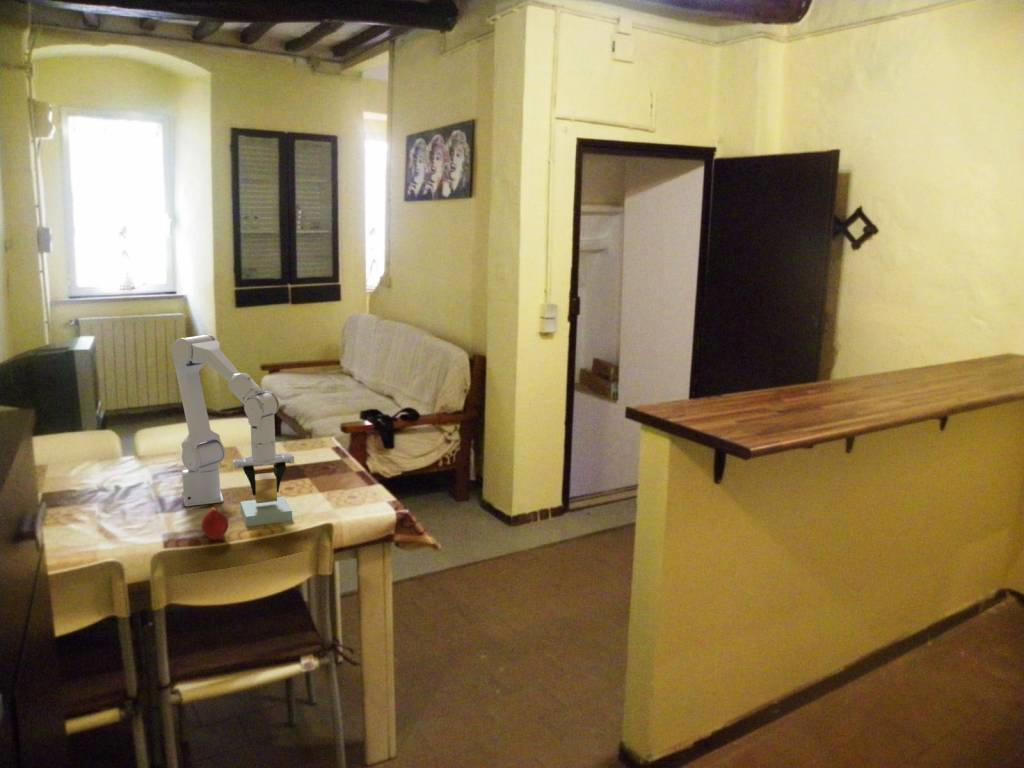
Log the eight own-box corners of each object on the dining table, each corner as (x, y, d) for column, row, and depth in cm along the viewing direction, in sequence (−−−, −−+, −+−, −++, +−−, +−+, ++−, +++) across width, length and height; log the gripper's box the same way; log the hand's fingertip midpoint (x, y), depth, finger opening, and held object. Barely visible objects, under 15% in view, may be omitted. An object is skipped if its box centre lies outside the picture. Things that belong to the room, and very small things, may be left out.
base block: (246, 528, 190) (246, 516, 189) (240, 512, 200) (240, 501, 199) (292, 521, 195) (291, 510, 194) (284, 506, 204) (284, 496, 204)
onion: (232, 534, 185) (230, 503, 183) (224, 544, 179) (222, 512, 177) (207, 534, 185) (205, 502, 183) (198, 544, 179) (196, 511, 177)
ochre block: (256, 503, 193) (255, 480, 192) (254, 497, 197) (253, 474, 196) (277, 500, 195) (276, 478, 194) (274, 494, 199) (273, 472, 198)
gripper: (234, 448, 186) (236, 501, 189) (295, 442, 192) (297, 494, 195) (231, 440, 192) (233, 492, 195) (290, 435, 199) (292, 485, 201)
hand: (265, 492), depth 196 cm, fingers closed on ochre block, 5 cm apart
